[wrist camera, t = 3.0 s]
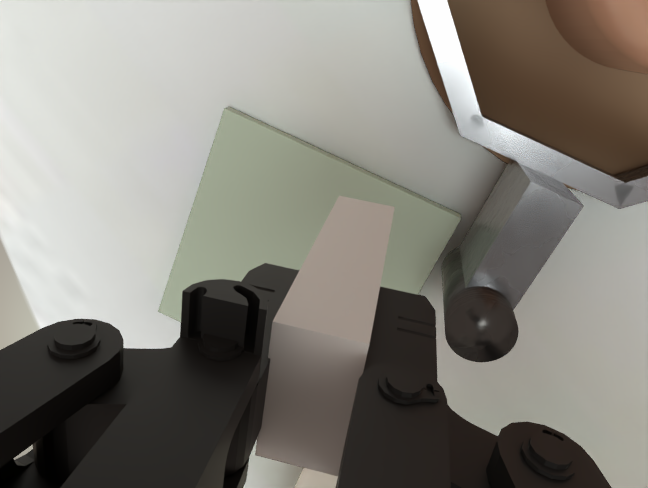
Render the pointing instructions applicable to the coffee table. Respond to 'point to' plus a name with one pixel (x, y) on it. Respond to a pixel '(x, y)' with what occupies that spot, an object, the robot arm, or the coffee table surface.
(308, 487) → the foam cup
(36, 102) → the coffee table surface
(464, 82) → the collar
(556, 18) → the terracotta mug
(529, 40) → the base plate
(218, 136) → the mat
